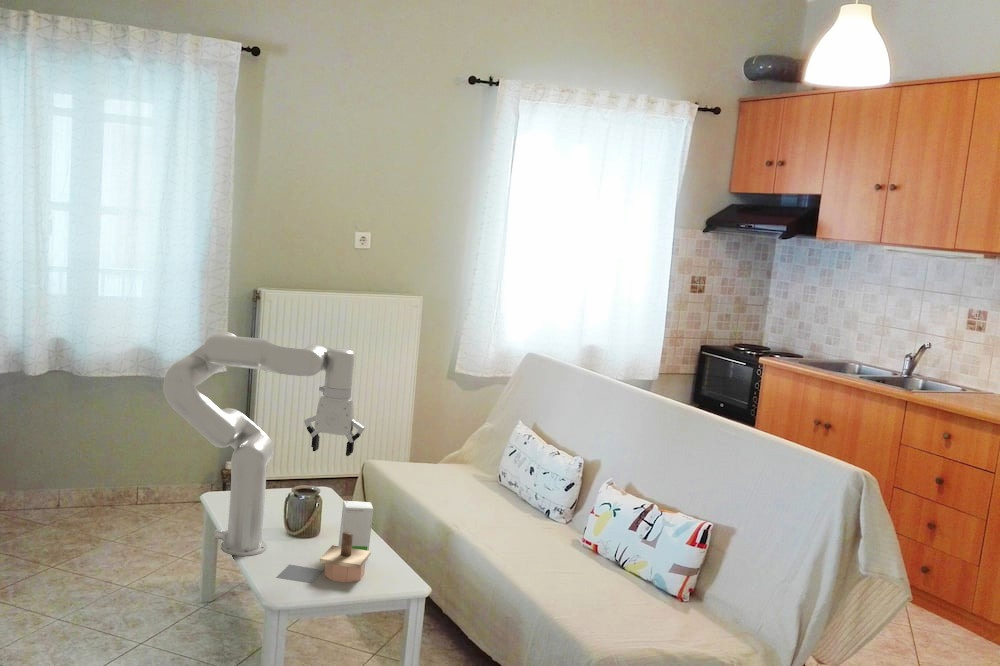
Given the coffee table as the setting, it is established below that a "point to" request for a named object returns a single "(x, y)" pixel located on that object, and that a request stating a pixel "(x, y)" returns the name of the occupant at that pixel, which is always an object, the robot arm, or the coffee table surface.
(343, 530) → the skincare box
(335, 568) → the bowl
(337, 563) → the lid
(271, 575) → the coffee table surface
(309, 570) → the mat
